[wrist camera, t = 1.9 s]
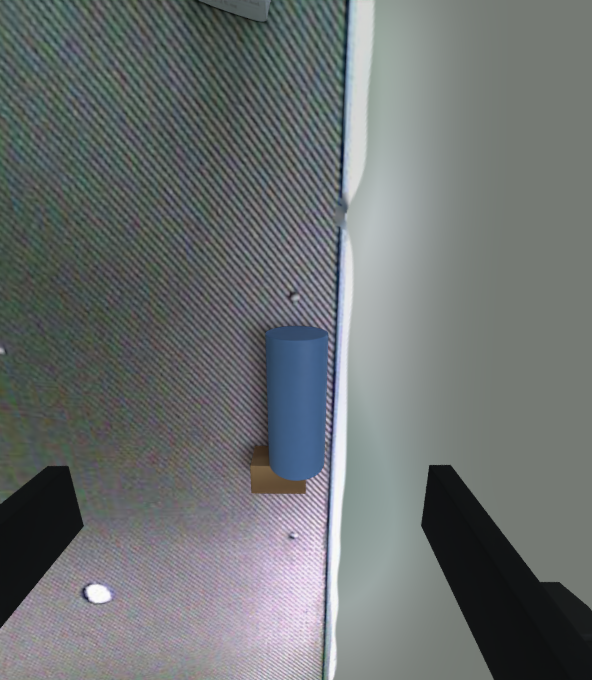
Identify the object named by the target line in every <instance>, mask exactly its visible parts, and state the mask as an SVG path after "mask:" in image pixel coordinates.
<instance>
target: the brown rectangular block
mask: <svg viewBox="0 0 592 680" xmlns="http://www.w3.org/2000/svg"><path fill="white" fill-rule="evenodd" d="M250 473H251V493H262V494H305V493H306V480H300V481H293V480H287V479H284V478H282V477H280V476H278V475H276V474H275V473H274V472H273V471H272V469H271V467H270V465H269V446H255V448H254V452H253V457H252V461H251V465H250Z"/></svg>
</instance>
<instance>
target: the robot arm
mask: <svg viewBox="0 0 592 680" xmlns="http://www.w3.org/2000/svg"><path fill="white" fill-rule="evenodd" d="M421 526H422V529H423V531H424V533H425V535H426V537H427V539H428V541H429V543H430V545H431V547H432V550H433V552H434V554H435V556H436V558H437V560H438V562H439V564H440V567H441V569H442V571H443V573H444V575H445V577H446V579H447V581H448V583H449V585H450V587H451V590H452V592H453V594H454V596H455V598H456V600H457V602H458V605H459V607H460V609H461V611H462V613H463V615H464V617H465V619H466V622H467V624H468V626H469V628H470V630H471V632H472V634H473V636H474V638H475V640H476V643H477V644H478V647H479V649H480V651H481V653H482V655H483V657H484V660H485V662H486V664H487V666H488V668H489V670H490V672H491V674H492V676H493V678H494V680H592V611H591V609H590V608H589V607H588V606H587V605H586V604H584V603H583V602H582V601H581V600H580V599H579V598H577V597H576V596H575V595H574V594H573V593H571V592H570V591H569V590H568V589H567V588H566V587H564V586H563V585H562V584H561V583H560V582H539V580H538V579H537V578H536V576H535V575H534V574H533V572H532V571H531V570H530V568H529V567H528V566H527V565H526V563H525V562H524V561H523V559H522V558H521V557H520V555H519V554H518V553H517V551H516V550H515V549H514V547H513V546H512V545H511V544H510V542H509V541H508V540H507V538H506V537H505V536H504V534H503V533H502V532H501V531H500V529H499V528H498V527H497V525H496V524H495V523H494V521H493V520H492V519H491V517H490V516H489V515H488V513H487V512H486V511H485V510H484V508H483V507H482V506H481V504H480V503H479V502H478V500H477V499H476V498H475V496H474V495H473V494H472V493H471V491H470V490H469V489H468V487H467V486H466V485H465V483H464V482H463V481H462V479H461V478H460V477H459V475H458V474H457V473H456V471H455V470H454V469H453V468H452V466H451V465H429V472H428V480H427V486H426V494H425V501H424V509H423V516H422V524H421ZM83 527H84V525H83V521H82V517H81V513H80V510H79V506H78V502H77V498H76V494H75V490H74V486H73V482H72V478H71V474H70V470H69V467H68V466H47V467H46V468H45V469H43V470H42V471H41V472H40V473H39V474H37V475H36V476H35V477H34V478H32V479H31V480H30V481H29V482H27V483H26V484H25V485H24V486H22V487H21V488H20V489H19V490H17V491H16V492H15V493H14V494H13V495H11V496H10V497H9V498H8V499H6V500H5V501H4V502H3V503H1V504H0V628H1V627H2V626H3V625H4V623H5V622H6V621H7V620H8V618H9V617H10V616H11V615H12V613H13V612H14V611H15V610H16V609H17V607H18V606H19V605H20V604H21V602H22V601H23V600H24V599H25V598H26V596H27V595H28V594H29V593H30V591H31V590H32V589H33V588H34V587H35V585H36V584H37V583H38V582H39V580H40V579H41V578H42V577H43V576H44V574H45V573H46V572H47V571H48V569H49V568H50V567H51V566H52V564H53V563H54V562H55V561H56V560H57V558H58V557H59V556H60V555H61V553H62V552H63V551H64V550H65V549H66V547H67V546H68V545H69V544H70V542H71V541H72V540H73V539H74V538H75V536H76V535H77V534H78V533H79V531H80V530H81V529H82V528H83Z"/></svg>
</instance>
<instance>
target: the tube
mask: <svg viewBox="0 0 592 680" xmlns="http://www.w3.org/2000/svg"><path fill="white" fill-rule="evenodd" d="M265 337H266V371H267V406H268V441H269V465H270V467H271V469H272V471H273V472H274V473H275V474H276V475H278V476H280V477H282V478H284V479H287V480H293V481H300V480H306V479H309V478H312V477H314V476H316V475H317V474H318V473H319V472H320V471H321V470H322V468H323V466H324V458H325V426H326V394H327V362H328V332H327V331H325V330H323V329H320V328H315V327H308V326H285V327H278V328H274V329H271V330H268V331H267V332H266V334H265Z"/></svg>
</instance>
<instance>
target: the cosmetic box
mask: <svg viewBox="0 0 592 680" xmlns="http://www.w3.org/2000/svg"><path fill="white" fill-rule="evenodd" d="M199 1H201V2H204V3H206V4H209V5H211V6H214V7H216V8H219V9H222V10H225V11H228V12H230V13H233V14H236V15H240V16H243V17H246V18H249V19H252V20H256V21H261V22H263V21H266V20H267V16H268V11H269V7H270V2H271V0H199Z"/></svg>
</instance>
